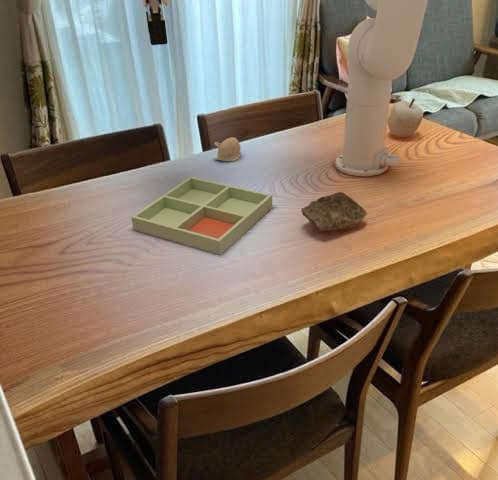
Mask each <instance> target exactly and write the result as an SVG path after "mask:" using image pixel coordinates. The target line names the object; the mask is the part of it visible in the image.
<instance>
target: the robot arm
mask: <svg viewBox="0 0 498 480" xmlns="http://www.w3.org/2000/svg"><path fill="white" fill-rule="evenodd" d="M364 2H365V4H366V5H367V6H368V7H369V8H370V9H372V10H373V11H375V12H376V16H375V17H370V18H366V19H364V20H362V21H361V22H359V23H358V24H357V25H356V26H355V27H354V29H353V30H352V32H351V34H350V36H349V39H348V44H347V69H348V73H347V74H348V75H347V76H348V79H347V94H346V95H347V97H346V107H345V108H346V109H345V119H344V120H345V121H344V134H343V145H342V154H340V155H339V156H337V158H336V159H335V163H334V166H335V168H336V169H337V170H338V171H340V172H341V173H344V174H346V175H350V176H355V177H373V176H378V175H380V174H383V173H385V172H386V171H387V170H388V168H389V166H390V167H393V168H399V167H400V163H401V159H400V158H399V155H397V154H390V153H389V152H388V146H385V144H386V143H385V142H386V135H387V134H386V133H387V126H388V118H389V113H390V112H389V111H390V104H391V96H392V87H393V86H392V84H393V81H394V80H396V79H399V78H400V77H401V76H403V75H404V74H405V73H406V72H407V70H408V69H409V68H410V66H411V64H412V62H413V61H414V58H415V54H416V51H417V47H418V43H419V39H420V34H421V31H422V26H423V23H424V19H425V15H426V10H427V6H428V2H429V0H364ZM141 3H142V6H143V7H144V8H146V10H145V17H146V23H147V31H148V34H149V42H150V45H151V46H161V45H167V44H168V35H167V34H168V33H167V25H166V19H164V18H165V17H164V10H163V5H164V6H165V7H168V6H169V5H170V0H141Z"/></svg>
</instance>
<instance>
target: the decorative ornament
mask: <svg viewBox="0 0 498 480" xmlns="http://www.w3.org/2000/svg"><path fill="white" fill-rule="evenodd" d="M214 145H215V146H216V147H217V148H218V149H217V155H216V157H215V161H222V162H236V161H237V160H239V159H240V157H241V156H242V152H241V143H240V141H239V140H238V139H237V137H234V136H233V137H228V138H226V139H224V140H223V141H222V142H221V143H220V142H218V141H215V142H214Z"/></svg>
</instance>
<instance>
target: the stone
mask: <svg viewBox="0 0 498 480" xmlns="http://www.w3.org/2000/svg"><path fill="white" fill-rule="evenodd" d="M300 212H301V213H302V216H303V217H304V218H306V219H307V220H308V221H309V223H311V225H312V226H314V227H315V228H317V229H318V230H319V231H320V232H322V231H331V232H341V231H347V230H349V229H352V228H354V227H356V226H357V225H358V224H360V222H362V221H363V220H364V219H365V218H366V216H367V214H368V213H367V211H366V210H365V208H364V207H363V206H361V204H359V202H357V201H355V200H354V199H353V198H352V197H350V196H348V194H346V193H344V192H343V191H338V192H335V193H331V194H329V195H324V196H321V197H320V198H317V199H316V200H313V201H310V202H309V204H308V205H306V206H304V207H302V208H301V211H300Z"/></svg>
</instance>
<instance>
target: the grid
mask: <svg viewBox="0 0 498 480" xmlns="http://www.w3.org/2000/svg"><path fill="white" fill-rule="evenodd" d="M271 209H273V195H272V194H270V193H265V192H260V191H257V190H252V189H248V188H243V187H238V186H234V185H229V184H225V183H220V182H216V181H211V180H208V179H203V178H198V177H193V176H189V177H188V178H186V179H184V180H183V181H182V182H180V183H179V184H178V185H176V186H174V187H173V188H172V189H170V190H168V191H167V192H166V193H164V194H163V195H161V196H159V198H157V199H155V200H154V201H152V202H150V203H149V204H148V205H147V206H145V207H143V208H142V209H141V210H139V211H138V212H136V213H134V215H132V216H130V218H131V223H132V229H133V230H134V231H137V232H140V233H144V234H146V235H150V236H153V237H157V238H161V239H163V240H164V239H165V240H166V241H167V240H168V241H170V242H171V241H172V242H174V243H179V244H181V245H184V246H188V247H192V248H195V249H199V250H201V251H202V250H203V251H206V252H209V253H213V254H217V255H222V254H223V253H224V252H226V250H228V249H229V248H230V247H231V246H232V245H233V244H234V243H235V242H236V241H237V240H238V239H240V238H241V237H242V236H243V235H244V234H245V233H246V232H247V231H249V230H250V229H251V228H252V227H253V226H254V225H255V224H256V223H257V222H258V221H260V220H261V219H262V218H263V217H264V216H265V215H266V214H267V213H269V212H270V211H271Z"/></svg>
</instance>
